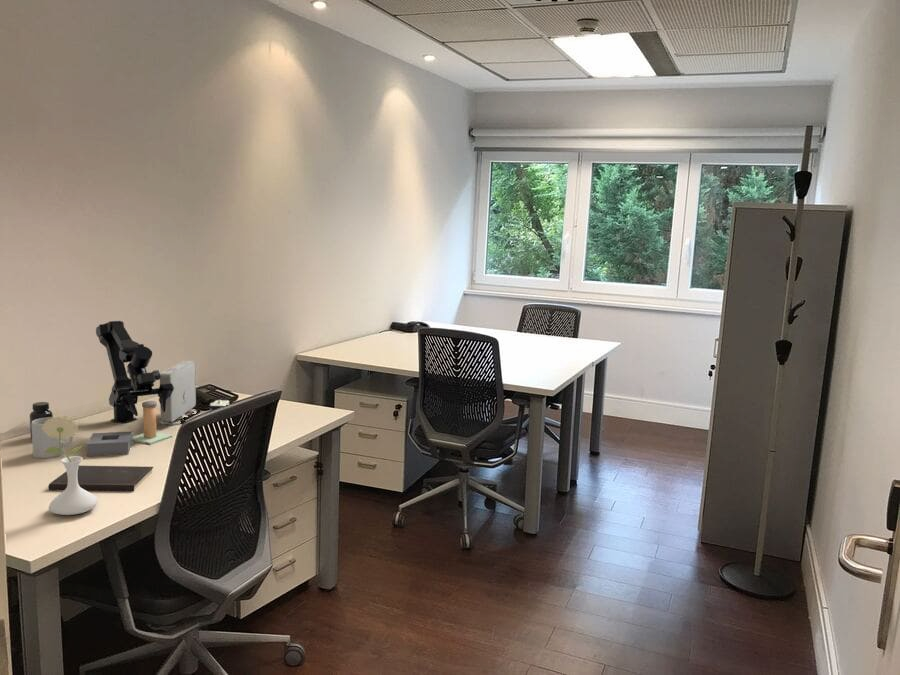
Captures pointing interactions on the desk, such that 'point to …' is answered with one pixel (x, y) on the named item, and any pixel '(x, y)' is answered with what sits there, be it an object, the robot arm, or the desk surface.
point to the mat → (152, 440)
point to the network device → (179, 391)
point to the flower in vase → (68, 471)
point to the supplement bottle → (39, 412)
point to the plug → (149, 419)
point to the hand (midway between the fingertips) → (150, 413)
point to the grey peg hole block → (109, 443)
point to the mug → (45, 440)
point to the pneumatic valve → (218, 404)
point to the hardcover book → (105, 478)
